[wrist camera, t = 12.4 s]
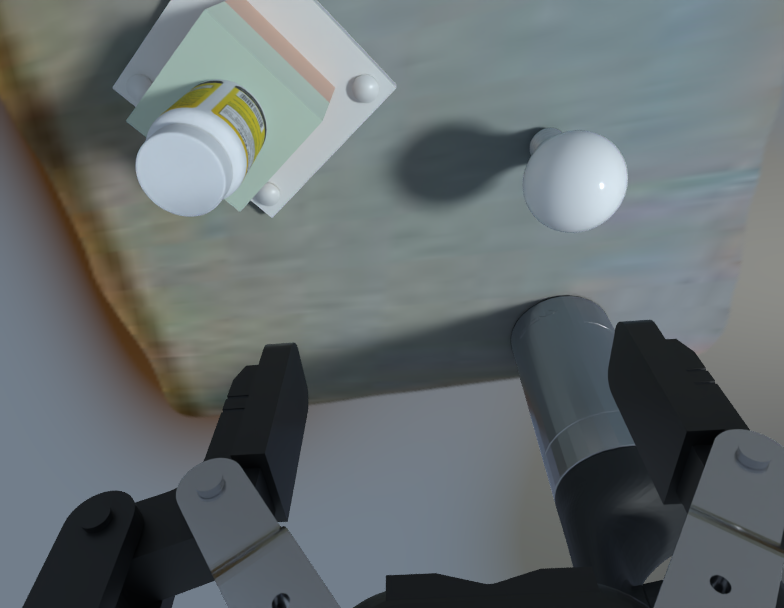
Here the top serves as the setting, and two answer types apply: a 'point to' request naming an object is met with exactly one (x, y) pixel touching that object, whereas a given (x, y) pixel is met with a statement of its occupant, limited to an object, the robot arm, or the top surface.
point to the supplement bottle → (201, 148)
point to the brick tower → (262, 81)
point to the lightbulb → (573, 179)
